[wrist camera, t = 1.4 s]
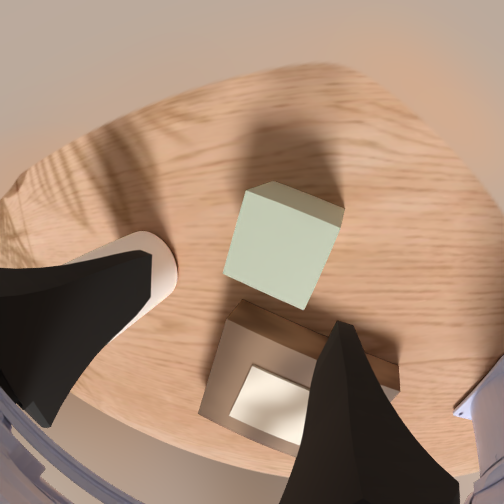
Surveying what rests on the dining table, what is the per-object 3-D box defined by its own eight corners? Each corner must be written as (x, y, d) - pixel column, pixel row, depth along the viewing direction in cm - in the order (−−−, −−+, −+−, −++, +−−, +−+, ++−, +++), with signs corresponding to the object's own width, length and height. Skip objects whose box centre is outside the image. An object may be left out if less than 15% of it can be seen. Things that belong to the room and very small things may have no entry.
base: (398, 365, 19) (400, 393, 17) (324, 443, 25) (318, 466, 23) (242, 299, 22) (225, 320, 20) (210, 395, 28) (196, 415, 26)
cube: (345, 208, 17) (340, 227, 13) (317, 274, 20) (303, 310, 15) (273, 180, 19) (245, 190, 14) (253, 246, 21) (222, 273, 16)
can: (139, 296, 27) (50, 362, 16) (118, 235, 25) (13, 284, 15) (189, 294, 24) (91, 379, 14) (167, 223, 23) (43, 281, 12)
